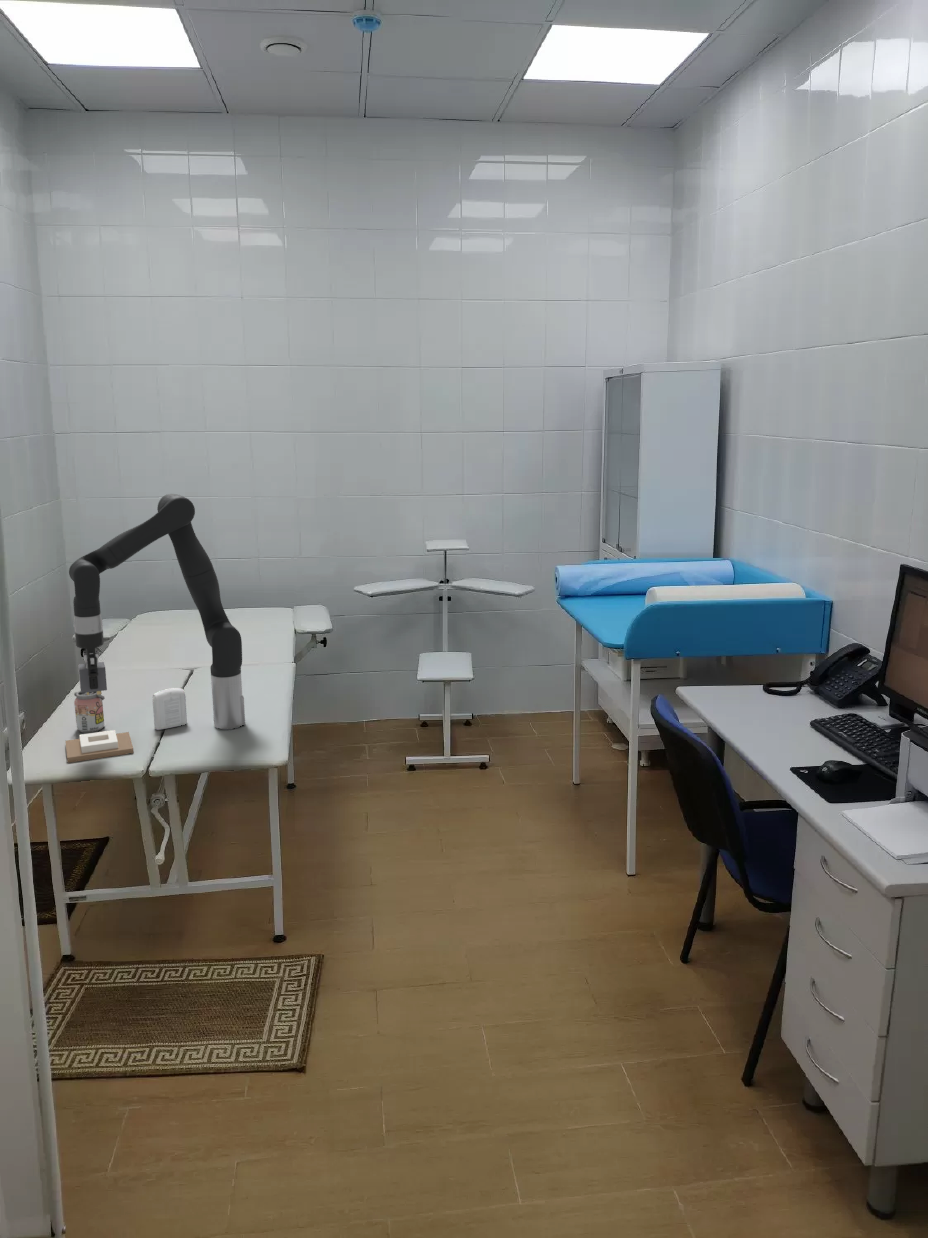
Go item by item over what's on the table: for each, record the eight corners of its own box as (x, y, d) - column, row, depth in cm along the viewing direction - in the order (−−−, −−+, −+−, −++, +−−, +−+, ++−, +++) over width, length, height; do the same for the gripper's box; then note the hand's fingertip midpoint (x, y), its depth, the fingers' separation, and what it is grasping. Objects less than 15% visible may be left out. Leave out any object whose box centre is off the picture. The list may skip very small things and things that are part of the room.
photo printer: (184, 720, 304) (182, 684, 300) (189, 724, 300) (186, 688, 297) (152, 727, 298) (149, 690, 295) (157, 731, 294) (153, 694, 291)
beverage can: (86, 722, 302) (82, 686, 299) (111, 723, 301) (108, 687, 298) (71, 732, 293) (67, 696, 290) (97, 734, 292) (93, 697, 289)
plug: (105, 689, 280) (103, 661, 278) (107, 695, 275) (105, 667, 273) (80, 692, 277) (78, 664, 275) (81, 698, 272) (79, 669, 270)
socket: (129, 736, 290) (128, 725, 289) (133, 753, 278) (132, 742, 277) (65, 745, 283) (64, 734, 282) (67, 762, 271) (66, 751, 270)
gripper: (104, 634, 266) (109, 691, 271) (100, 622, 279) (105, 677, 283) (75, 637, 263) (80, 694, 268) (73, 624, 276) (78, 679, 280)
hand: (93, 685), depth 275 cm, fingers closed on plug, 5 cm apart
